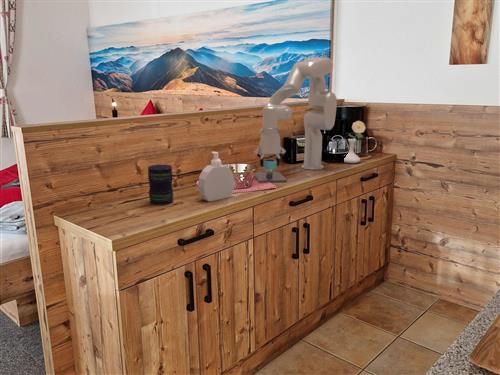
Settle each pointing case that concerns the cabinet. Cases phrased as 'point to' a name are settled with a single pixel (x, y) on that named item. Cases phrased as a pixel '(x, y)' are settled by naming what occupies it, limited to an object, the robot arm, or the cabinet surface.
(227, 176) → the soap bottle
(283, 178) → the metal plate with knob
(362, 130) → the flower in vase
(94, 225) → the cabinet surface
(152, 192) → the storage jar
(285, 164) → the cabinet surface
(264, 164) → the ring
